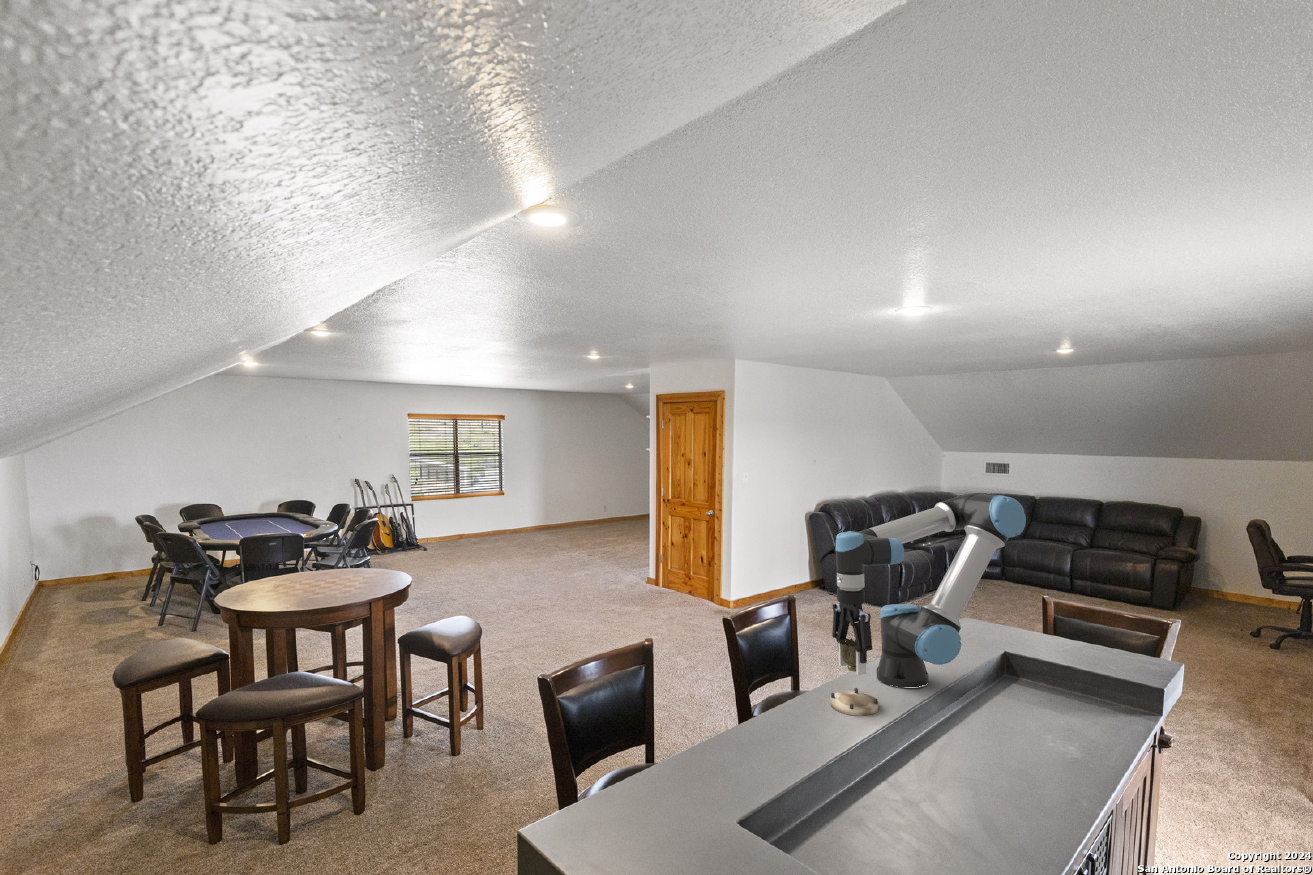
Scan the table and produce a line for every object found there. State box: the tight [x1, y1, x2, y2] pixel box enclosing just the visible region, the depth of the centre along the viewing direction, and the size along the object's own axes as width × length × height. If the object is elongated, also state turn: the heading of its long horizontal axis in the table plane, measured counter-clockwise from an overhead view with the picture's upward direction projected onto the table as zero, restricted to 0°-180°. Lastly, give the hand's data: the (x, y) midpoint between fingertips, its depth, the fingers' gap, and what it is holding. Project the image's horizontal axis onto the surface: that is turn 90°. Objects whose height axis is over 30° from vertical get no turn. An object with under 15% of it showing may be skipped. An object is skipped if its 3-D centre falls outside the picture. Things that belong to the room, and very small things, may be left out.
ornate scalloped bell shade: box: [839, 637, 858, 673], centre depth 177 cm, size 8×7×8 cm
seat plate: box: [829, 687, 879, 717], centre depth 177 cm, size 13×13×3 cm
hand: (852, 669), depth 177 cm, fingers closed on ornate scalloped bell shade, 7 cm apart
